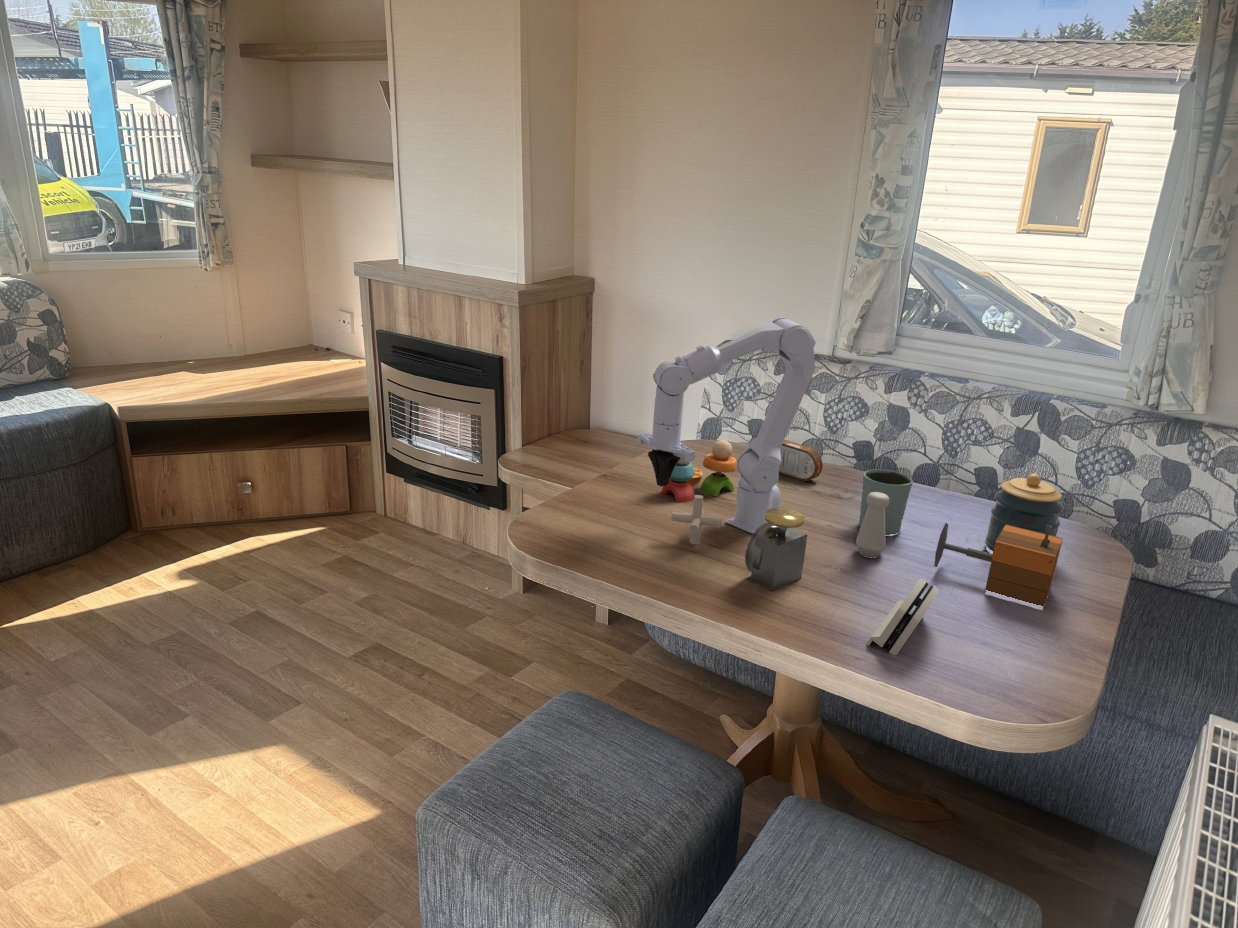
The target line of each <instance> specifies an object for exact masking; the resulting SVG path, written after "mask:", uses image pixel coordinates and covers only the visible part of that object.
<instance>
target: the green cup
mask: <svg viewBox="0 0 1238 928" xmlns="http://www.w3.org/2000/svg"><path fill="white" fill-rule="evenodd" d="M862 477H863V478H862V491H861V493H862V494H861V498H860V499H861V502H860V514H859V519H858V521H859V522H858V524H859V526H858V527H859V528H860V527H861V525H862V522H863V520H864V517H865V514H866V511H867V508H868V504H867V501H866V500H867V496H868V494H870V493H871V492H880V493H884V494H886V495H887V496H888V497H889V505H888V507H886V508H885V535H890V534H896V533H898V532H899V533H900V531H901V527H902V521H903V519H904V515H905V511H906V508H907V503H908V499H909V495H910V493H911V490H912V486H913V483H914V482H913V479H912V478H911V477H910V476H909V475H907V474H904V473H903V472H902V473H901V472H898V471H893V470H889V469H868V470H866V471H864V472H863V475H862ZM899 533H898V534H899Z"/></svg>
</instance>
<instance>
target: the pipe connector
mask: <svg viewBox="0 0 1238 928" xmlns="http://www.w3.org/2000/svg"><path fill="white" fill-rule="evenodd" d="M703 505H704V496H703V495H701V494H695V496H694V500H693V505H692V514H691V513H684V512H675V511H672V513H671V518H670V519H671V522H679V523H685V524H689V528H688V531H689V532H690V538H689V539H690V540H689V542H690V544H691V545H699V544H700V537H701V536H700V535H701V526H709V527H715V528H722V523H723V518H721V517H715V516H708V515H707V516H706V515H704V513H705V512H704V511H705V510H704V508H703Z"/></svg>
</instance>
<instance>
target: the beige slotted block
mask: <svg viewBox="0 0 1238 928" xmlns="http://www.w3.org/2000/svg"><path fill="white" fill-rule="evenodd" d="M928 586H929V583H928V580H926V579H924V578H920V579H918V581H917V583H916V584H915V585H914V586H913V588H912V589H911V590H910V592H909V593H908V595H907V596H906V597H905V598H904V600H903V599H902V600H900V599H899V600H897V601H896V603H894V605H893V606H892V608H891V610H889V612H888V613H887V615H886V616H885V618H883V620H882V621H881V623H880V624H879V626H878V627H877V628H876V630H875V631H874V632H873V634H872V635H871V637H870V638H869V639H868V640H867V643H866V644H865V646H866V647H867V646H868V647H869V646H870V645H871V644H872V642H874V643H876V644H877V645H878V646H879V647H880V648H883V647H884V648H887V645H889V646H888V648H887V649H888V651H889V652H888V653H889V654H891V655H893V656H898V653H900V651H901V649H902V648H903V647H904V645H905V643H906V642H907V641H908V639H909V638H910V636H911V635H912V633H913V632H914V630H915V629H916V628H917V626H918V625H919V623H920V621H921V620H922V619H923V617H924V616H925V614H927V611H928V610H929V609H930V607H931V605H932V604H933V602H934V600H935V599H936V597H937V596H938V594H939V592H940V589H939V588H937V586H936V585H930V586H929V588H928V590H927V591H926V593H925V594H924V595H923V593H924V592H925V590H926V589H927V587H928ZM922 595H923V596H922ZM921 597H922V598H921ZM914 606H915V608H914V610H913V612H912V613H911V611H912V609H913V607H914ZM910 613H911V614H910Z"/></svg>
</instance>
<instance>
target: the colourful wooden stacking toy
mask: <svg viewBox="0 0 1238 928" xmlns="http://www.w3.org/2000/svg"><path fill="white" fill-rule="evenodd" d="M711 452H712V453H708V454H707V455H705V456H704V459H703V461H702V466H703V467H704V468H705V469H707V470H710V471H714V472H712V473H710V474H709V475H708V476H706V477H705V478H704V479H703V481H702V477H703V471H702V470H700V469H698V468H695V467H694V466H693V463H691V461H689V462H687V461H685V459H683V458H681V459H680V460H679V461H678V463H677V464H676V466H675V468H674V470H673V472H672V474H671V477H670V480H669V483H668V485H666V486H662V487H661V492H660V494H661V495H665V494H670V493H673V495H674V499H675V501H676V502H677V503H689V502H692V501H694V496H695V495H696V494H695V490H694V488H693V486H695V485H698V484H699V483H700V482H701V481H702V483H701V486H700V491H701V493H703V494H705V495H708V496H711V497H712V496H713V497H717V496H719V494H720V492H721V489H725V490H727V491H730V492H734V491H735V490H734V489H735V487H734V484H733V482H732V480H731V479H730V478H729V477H728V476H727V475H726V473H729V474H730V473H734V472H736V471H738V469H737V459H736V457H734V456H732V454H733V446H732V444H731V443H730V442H729V441H727V440H722V439H721V440H717V441H716V442H714V444H713V446H712V448H711Z"/></svg>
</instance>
